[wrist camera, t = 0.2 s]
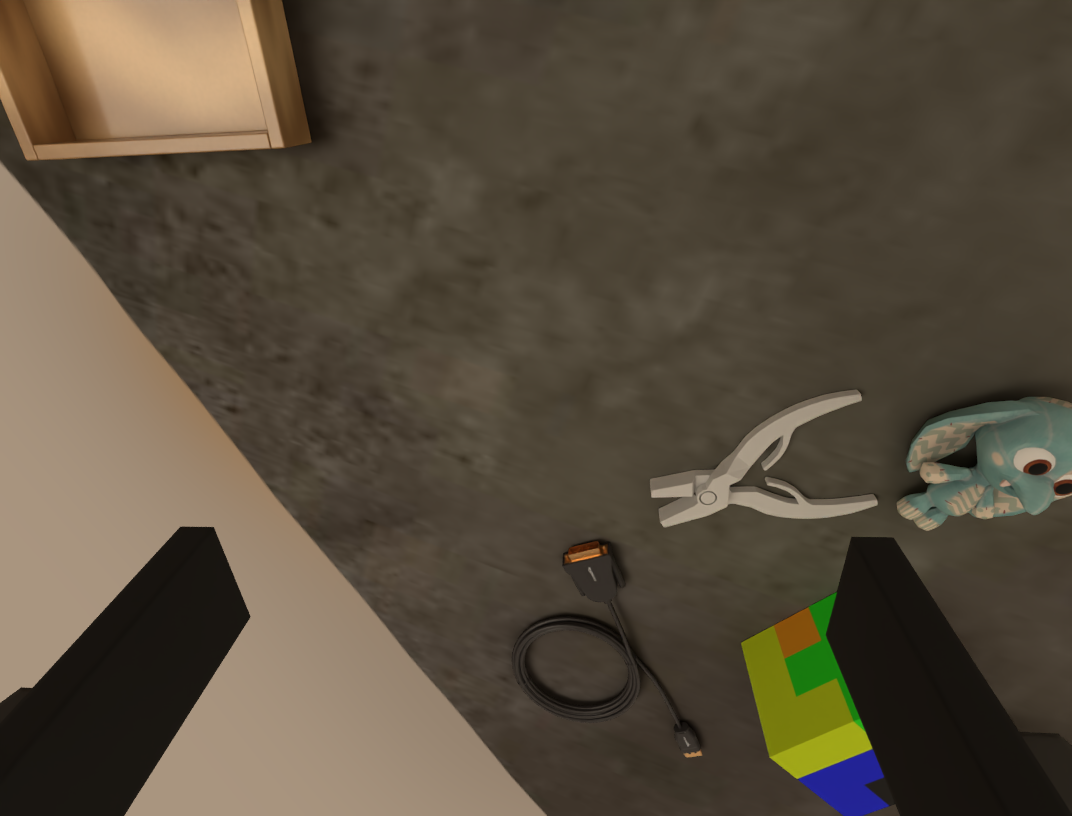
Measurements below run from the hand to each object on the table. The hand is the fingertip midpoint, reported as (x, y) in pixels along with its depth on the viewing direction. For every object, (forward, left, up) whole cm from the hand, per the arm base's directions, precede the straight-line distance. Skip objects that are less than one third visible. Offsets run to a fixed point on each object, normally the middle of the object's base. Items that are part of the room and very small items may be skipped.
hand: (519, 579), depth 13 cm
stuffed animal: (+14, +27, -28) cm, 41 cm away
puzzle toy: (+34, +21, -28) cm, 49 cm away
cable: (+38, +1, -28) cm, 47 cm away
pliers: (+16, +13, -28) cm, 35 cm away
